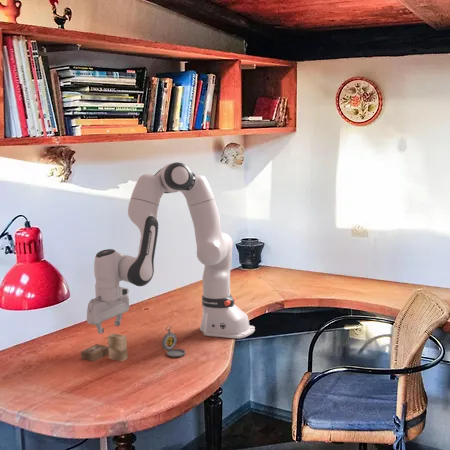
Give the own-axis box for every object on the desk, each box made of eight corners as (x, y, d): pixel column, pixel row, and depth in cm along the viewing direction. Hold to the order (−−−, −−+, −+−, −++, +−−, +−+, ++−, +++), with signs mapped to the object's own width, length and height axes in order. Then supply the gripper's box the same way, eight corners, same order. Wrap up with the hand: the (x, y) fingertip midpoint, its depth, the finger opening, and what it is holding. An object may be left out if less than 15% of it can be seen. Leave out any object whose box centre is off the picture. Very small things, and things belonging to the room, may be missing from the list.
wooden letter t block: (127, 358, 223) (126, 335, 221) (122, 361, 220) (120, 338, 219) (114, 355, 226) (113, 333, 224) (109, 358, 223) (107, 335, 222)
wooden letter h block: (109, 346, 227) (93, 354, 220) (109, 354, 228) (94, 362, 221) (96, 343, 230) (80, 351, 223) (97, 351, 231) (81, 359, 223)
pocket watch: (182, 358, 221) (182, 331, 220) (160, 357, 223) (159, 330, 221) (188, 350, 229) (187, 324, 228) (166, 349, 231) (165, 323, 229)
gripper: (95, 301, 219) (96, 339, 221) (131, 288, 236) (132, 322, 239) (81, 299, 222) (83, 336, 224) (118, 286, 240) (120, 320, 242)
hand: (109, 329), depth 232 cm, fingers open, 8 cm apart
